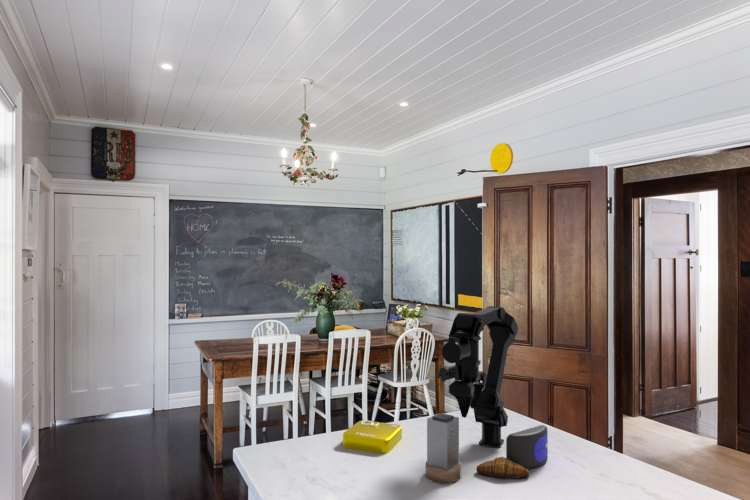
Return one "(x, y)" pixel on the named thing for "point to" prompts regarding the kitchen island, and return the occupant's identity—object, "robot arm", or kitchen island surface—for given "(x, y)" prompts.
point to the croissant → (502, 468)
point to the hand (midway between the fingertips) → (468, 412)
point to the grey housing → (443, 441)
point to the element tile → (372, 436)
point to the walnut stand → (443, 474)
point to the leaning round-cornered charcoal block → (528, 447)
